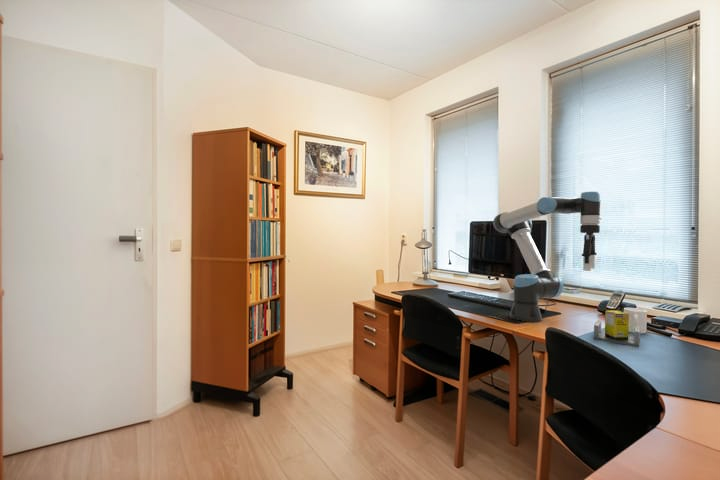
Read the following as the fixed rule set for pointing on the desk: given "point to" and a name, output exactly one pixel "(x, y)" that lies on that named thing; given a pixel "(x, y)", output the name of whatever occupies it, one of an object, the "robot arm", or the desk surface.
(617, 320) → the supplement box
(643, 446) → the desk surface
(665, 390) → the desk surface
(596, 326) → the bracket
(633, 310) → the mug
